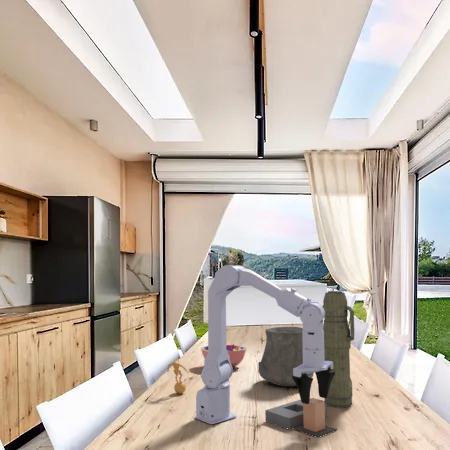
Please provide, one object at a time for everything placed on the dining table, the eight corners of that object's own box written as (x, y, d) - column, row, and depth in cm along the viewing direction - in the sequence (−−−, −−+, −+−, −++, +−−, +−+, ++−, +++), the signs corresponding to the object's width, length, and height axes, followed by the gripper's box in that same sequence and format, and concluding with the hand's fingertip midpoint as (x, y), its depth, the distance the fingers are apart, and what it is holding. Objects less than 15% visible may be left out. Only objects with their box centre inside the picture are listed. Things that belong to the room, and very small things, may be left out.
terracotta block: (315, 431, 117) (314, 404, 117) (303, 427, 120) (303, 400, 120) (325, 428, 119) (324, 401, 120) (313, 424, 122) (312, 397, 123)
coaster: (318, 438, 113) (318, 436, 113) (293, 429, 120) (293, 427, 120) (337, 430, 119) (337, 428, 119) (312, 422, 125) (312, 421, 125)
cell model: (247, 372, 185) (247, 344, 186) (199, 372, 185) (199, 344, 186) (246, 363, 202) (245, 337, 203) (201, 363, 202) (201, 337, 203)
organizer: (289, 429, 119) (289, 418, 120) (265, 421, 126) (265, 410, 126) (326, 416, 130) (326, 405, 130) (302, 409, 136) (302, 399, 137)
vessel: (292, 396, 150) (291, 335, 152) (246, 383, 167) (245, 328, 169) (331, 384, 165) (329, 329, 166) (285, 374, 181) (284, 323, 183)
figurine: (193, 393, 154) (193, 357, 155) (184, 398, 149) (184, 361, 150) (172, 390, 158) (172, 355, 159) (163, 395, 152) (163, 359, 153)
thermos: (324, 396, 149) (321, 290, 152) (360, 402, 143) (356, 291, 146) (315, 403, 142) (312, 291, 145) (352, 410, 135) (348, 292, 139)
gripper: (307, 353, 113) (308, 409, 112) (341, 347, 123) (343, 398, 121) (286, 349, 119) (287, 403, 117) (320, 343, 128) (322, 392, 127)
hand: (314, 400), depth 120 cm, fingers open, 7 cm apart
